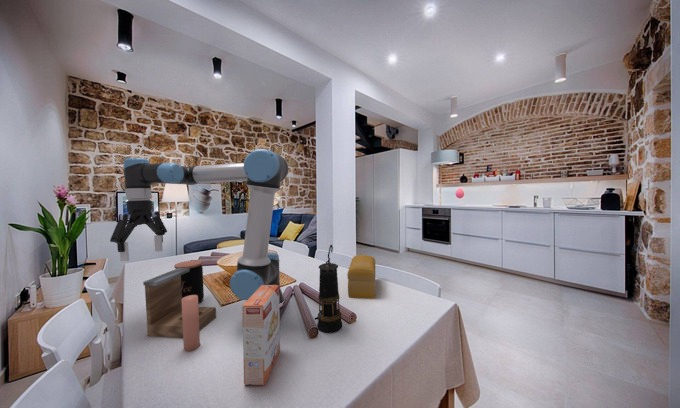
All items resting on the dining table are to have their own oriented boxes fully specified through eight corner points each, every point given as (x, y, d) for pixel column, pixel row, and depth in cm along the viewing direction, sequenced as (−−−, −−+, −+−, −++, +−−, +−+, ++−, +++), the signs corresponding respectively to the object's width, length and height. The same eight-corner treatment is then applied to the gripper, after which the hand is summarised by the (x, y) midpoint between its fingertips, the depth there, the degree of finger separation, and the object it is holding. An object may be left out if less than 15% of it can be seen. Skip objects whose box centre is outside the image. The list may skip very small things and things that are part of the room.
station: (216, 316, 96) (214, 269, 95) (188, 339, 81) (186, 283, 80) (180, 314, 97) (178, 268, 97) (146, 336, 83) (143, 281, 82)
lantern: (312, 330, 85) (311, 246, 84) (324, 317, 93) (322, 241, 92) (336, 335, 82) (335, 248, 80) (345, 322, 90) (344, 242, 89)
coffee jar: (170, 305, 105) (168, 265, 105) (193, 296, 115) (191, 259, 115) (187, 310, 101) (185, 268, 101) (209, 299, 111) (207, 261, 111)
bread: (375, 299, 109) (375, 266, 108) (347, 298, 111) (346, 266, 110) (375, 280, 133) (375, 253, 132) (352, 279, 135) (352, 252, 134)
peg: (203, 343, 79) (201, 295, 78) (193, 351, 74) (191, 301, 74) (190, 342, 79) (188, 294, 78) (180, 350, 75) (178, 300, 74)
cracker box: (266, 386, 60) (264, 305, 59) (243, 386, 61) (240, 305, 60) (281, 350, 74) (279, 283, 73) (262, 350, 75) (260, 284, 74)
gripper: (159, 199, 103) (162, 248, 104) (92, 201, 79) (97, 265, 80) (175, 198, 102) (178, 248, 103) (112, 200, 78) (116, 265, 79)
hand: (143, 255), depth 91 cm, fingers open, 13 cm apart
